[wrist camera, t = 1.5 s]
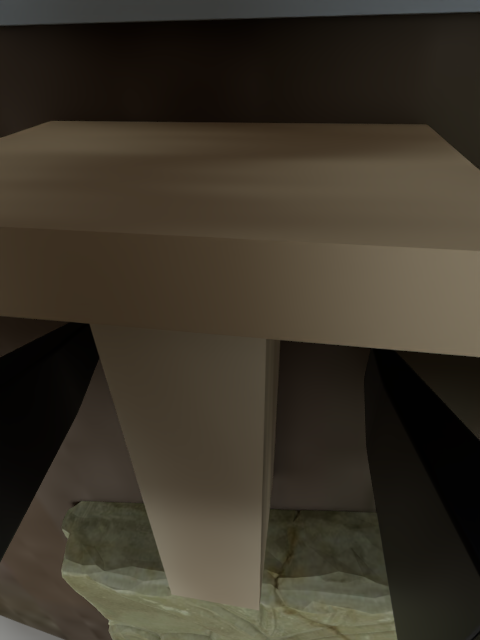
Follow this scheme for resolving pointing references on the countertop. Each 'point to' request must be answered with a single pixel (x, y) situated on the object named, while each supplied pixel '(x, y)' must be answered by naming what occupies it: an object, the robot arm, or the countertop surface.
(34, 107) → the countertop surface
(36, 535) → the countertop surface
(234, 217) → the wooden t-shaped block
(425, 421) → the robot arm
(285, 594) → the decorative tile
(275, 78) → the countertop surface
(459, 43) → the countertop surface
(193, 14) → the tool mat
